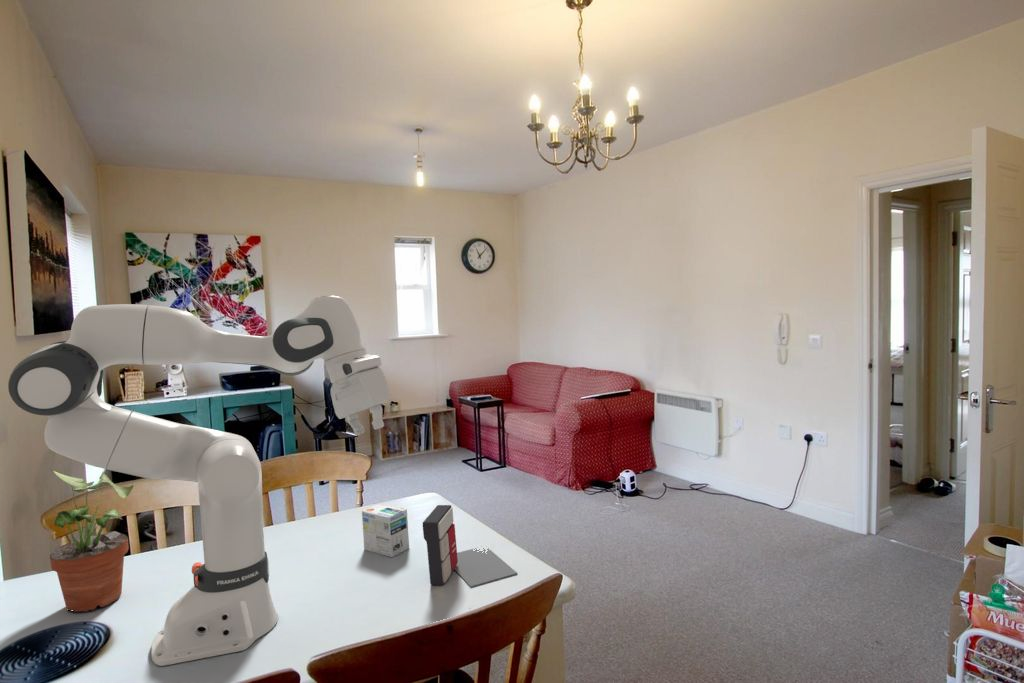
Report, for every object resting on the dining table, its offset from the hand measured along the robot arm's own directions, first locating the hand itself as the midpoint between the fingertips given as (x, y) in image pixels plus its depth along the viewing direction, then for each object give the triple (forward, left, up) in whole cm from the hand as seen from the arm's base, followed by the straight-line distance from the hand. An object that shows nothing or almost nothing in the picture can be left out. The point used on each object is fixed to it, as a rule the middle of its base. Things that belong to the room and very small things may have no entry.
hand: (369, 431), depth 120 cm
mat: (+26, +6, -38) cm, 47 cm away
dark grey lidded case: (+17, +6, -38) cm, 42 cm away
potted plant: (-55, +36, -38) cm, 76 cm away
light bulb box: (+9, +28, -38) cm, 48 cm away
